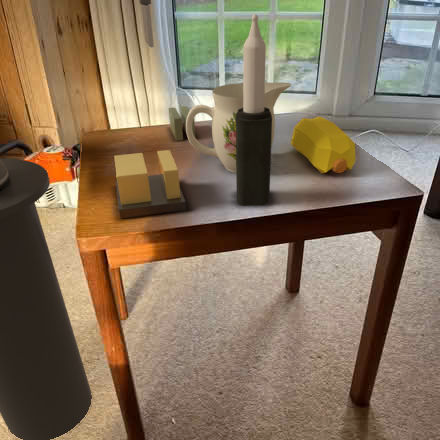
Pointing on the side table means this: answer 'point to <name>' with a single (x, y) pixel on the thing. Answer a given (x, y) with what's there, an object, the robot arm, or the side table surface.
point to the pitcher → (229, 119)
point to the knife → (147, 22)
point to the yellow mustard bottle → (324, 145)
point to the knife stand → (179, 122)
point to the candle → (253, 126)
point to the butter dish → (153, 205)
